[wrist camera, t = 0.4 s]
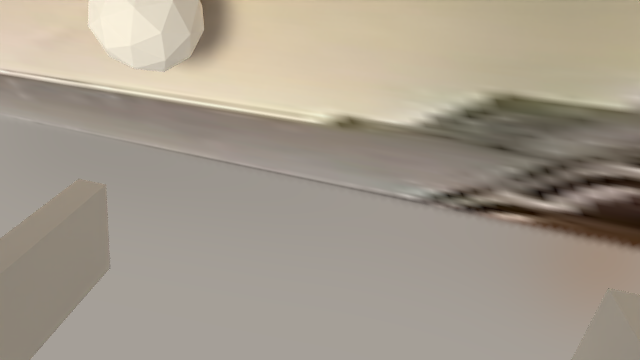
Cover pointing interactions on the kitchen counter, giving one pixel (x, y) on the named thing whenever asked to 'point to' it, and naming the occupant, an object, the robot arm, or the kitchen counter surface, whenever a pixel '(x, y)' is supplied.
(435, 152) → the kitchen counter surface
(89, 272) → the robot arm
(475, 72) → the kitchen counter surface
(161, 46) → the ball
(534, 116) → the kitchen counter surface
